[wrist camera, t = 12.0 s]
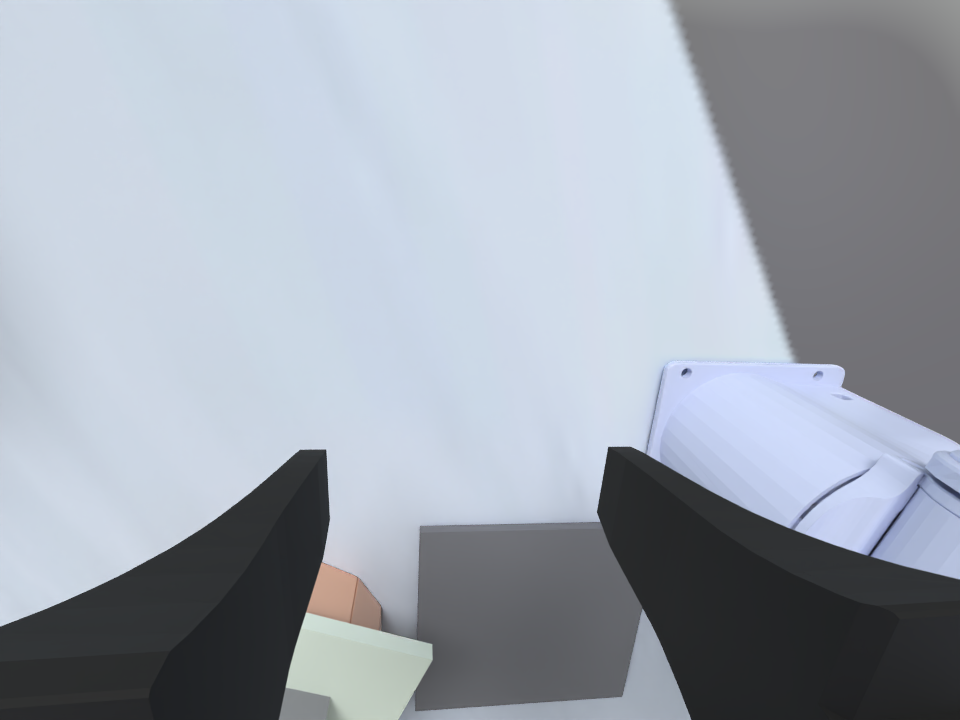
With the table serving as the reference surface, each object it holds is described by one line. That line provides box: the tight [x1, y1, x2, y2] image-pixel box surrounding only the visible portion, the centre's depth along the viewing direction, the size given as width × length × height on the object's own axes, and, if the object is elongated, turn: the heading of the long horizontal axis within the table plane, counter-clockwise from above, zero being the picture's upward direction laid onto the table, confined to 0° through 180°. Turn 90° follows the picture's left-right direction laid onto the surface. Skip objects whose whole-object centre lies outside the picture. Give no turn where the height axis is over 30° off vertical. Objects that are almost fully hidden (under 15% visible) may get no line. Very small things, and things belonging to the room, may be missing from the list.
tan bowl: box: [306, 563, 382, 631], centre depth 24 cm, size 9×9×4 cm
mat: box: [415, 522, 642, 711], centre depth 28 cm, size 13×13×1 cm
